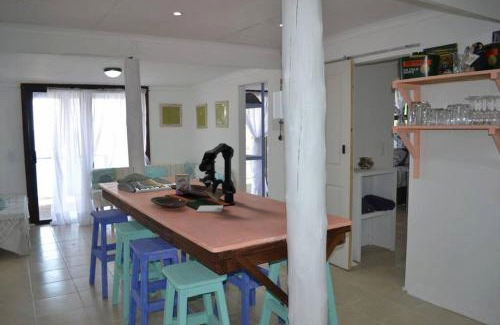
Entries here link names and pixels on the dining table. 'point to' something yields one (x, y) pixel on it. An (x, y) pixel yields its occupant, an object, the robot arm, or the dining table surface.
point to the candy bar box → (182, 182)
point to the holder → (155, 188)
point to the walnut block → (213, 196)
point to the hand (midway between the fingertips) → (211, 193)
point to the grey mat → (210, 209)
